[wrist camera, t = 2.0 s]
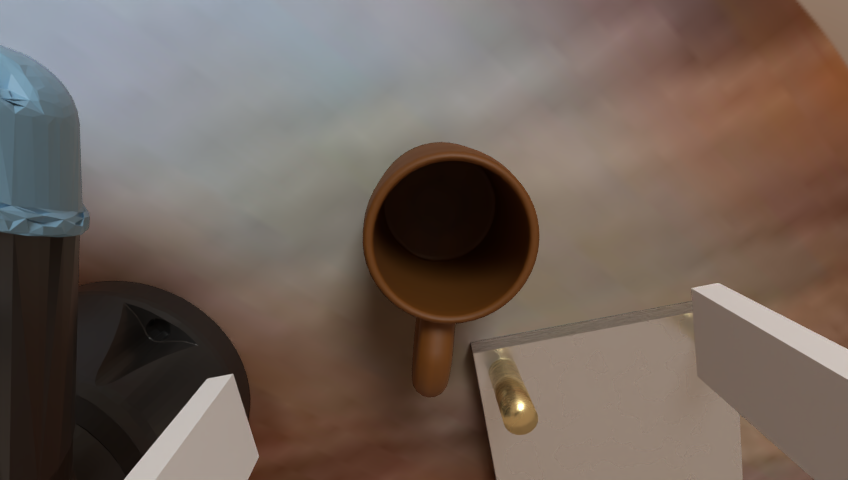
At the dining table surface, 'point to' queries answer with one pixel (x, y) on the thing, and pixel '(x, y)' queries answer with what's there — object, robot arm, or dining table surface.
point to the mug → (448, 246)
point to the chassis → (606, 402)
